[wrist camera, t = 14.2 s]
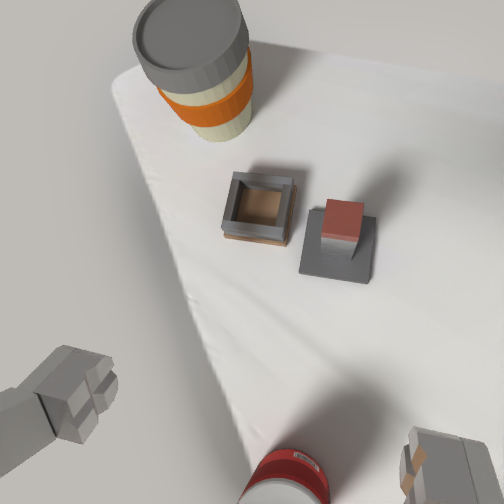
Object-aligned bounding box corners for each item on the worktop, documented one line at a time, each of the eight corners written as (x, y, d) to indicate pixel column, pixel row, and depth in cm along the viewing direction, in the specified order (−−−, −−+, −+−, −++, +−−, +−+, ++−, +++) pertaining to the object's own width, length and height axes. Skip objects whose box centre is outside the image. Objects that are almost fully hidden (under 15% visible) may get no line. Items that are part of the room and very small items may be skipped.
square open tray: (296, 188, 47) (295, 175, 44) (286, 246, 45) (283, 238, 42) (237, 182, 49) (232, 169, 45) (225, 238, 47) (218, 229, 44)
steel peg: (354, 233, 43) (364, 203, 35) (350, 261, 42) (359, 237, 34) (325, 228, 44) (327, 198, 35) (320, 256, 43) (321, 232, 35)
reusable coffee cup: (195, 167, 51) (147, 94, 36) (169, 100, 55) (117, 10, 40) (277, 131, 50) (262, 42, 36) (246, 65, 54) (220, -38, 40)
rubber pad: (374, 220, 44) (376, 217, 43) (367, 284, 42) (368, 282, 41) (309, 212, 46) (309, 209, 45) (299, 273, 44) (298, 271, 43)
